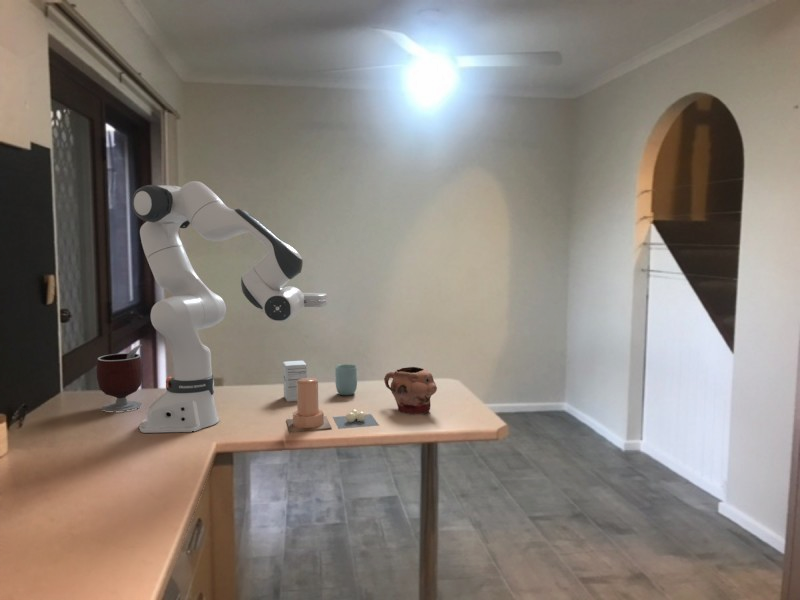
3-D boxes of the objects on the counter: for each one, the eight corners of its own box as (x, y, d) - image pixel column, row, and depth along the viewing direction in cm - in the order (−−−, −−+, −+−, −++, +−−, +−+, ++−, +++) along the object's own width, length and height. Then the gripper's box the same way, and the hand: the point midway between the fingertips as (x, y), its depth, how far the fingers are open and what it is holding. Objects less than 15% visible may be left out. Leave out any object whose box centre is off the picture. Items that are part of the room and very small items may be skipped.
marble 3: (357, 423, 187) (356, 413, 187) (355, 420, 190) (355, 410, 189) (366, 422, 188) (366, 412, 187) (365, 419, 191) (364, 410, 190)
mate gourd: (115, 415, 199) (112, 353, 197) (89, 409, 206) (86, 349, 204) (157, 404, 212) (154, 345, 210) (131, 399, 219) (128, 342, 217)
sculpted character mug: (373, 411, 202) (372, 368, 200) (393, 402, 212) (392, 362, 210) (427, 420, 191) (427, 375, 190) (446, 411, 202) (446, 368, 200)
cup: (359, 391, 227) (358, 364, 226) (355, 397, 220) (355, 369, 219) (337, 391, 228) (337, 364, 227) (333, 396, 220) (333, 368, 219)
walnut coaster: (289, 434, 179) (289, 431, 179) (286, 422, 190) (286, 419, 190) (331, 431, 182) (331, 427, 181) (326, 419, 193) (326, 416, 193)
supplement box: (283, 396, 221) (282, 361, 220) (304, 395, 223) (303, 359, 222) (286, 402, 214) (285, 365, 213) (308, 400, 216) (307, 363, 215)
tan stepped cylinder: (294, 429, 180) (293, 384, 179) (292, 420, 189) (290, 377, 188) (325, 426, 183) (324, 382, 181) (321, 418, 191) (320, 376, 190)
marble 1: (350, 421, 189) (350, 411, 189) (348, 418, 192) (348, 408, 192) (360, 420, 190) (360, 410, 190) (358, 417, 193) (358, 408, 192)
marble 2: (346, 424, 186) (346, 414, 186) (345, 421, 189) (344, 411, 189) (356, 423, 187) (356, 413, 187) (354, 420, 190) (354, 410, 189)
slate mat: (338, 430, 182) (338, 428, 182) (332, 418, 194) (332, 417, 194) (379, 427, 185) (379, 425, 185) (371, 416, 197) (371, 414, 196)
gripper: (324, 291, 183) (330, 287, 197) (254, 290, 184) (265, 286, 198) (324, 313, 184) (330, 307, 198) (255, 312, 185) (266, 306, 198)
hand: (297, 296), depth 198 cm, fingers open, 8 cm apart
